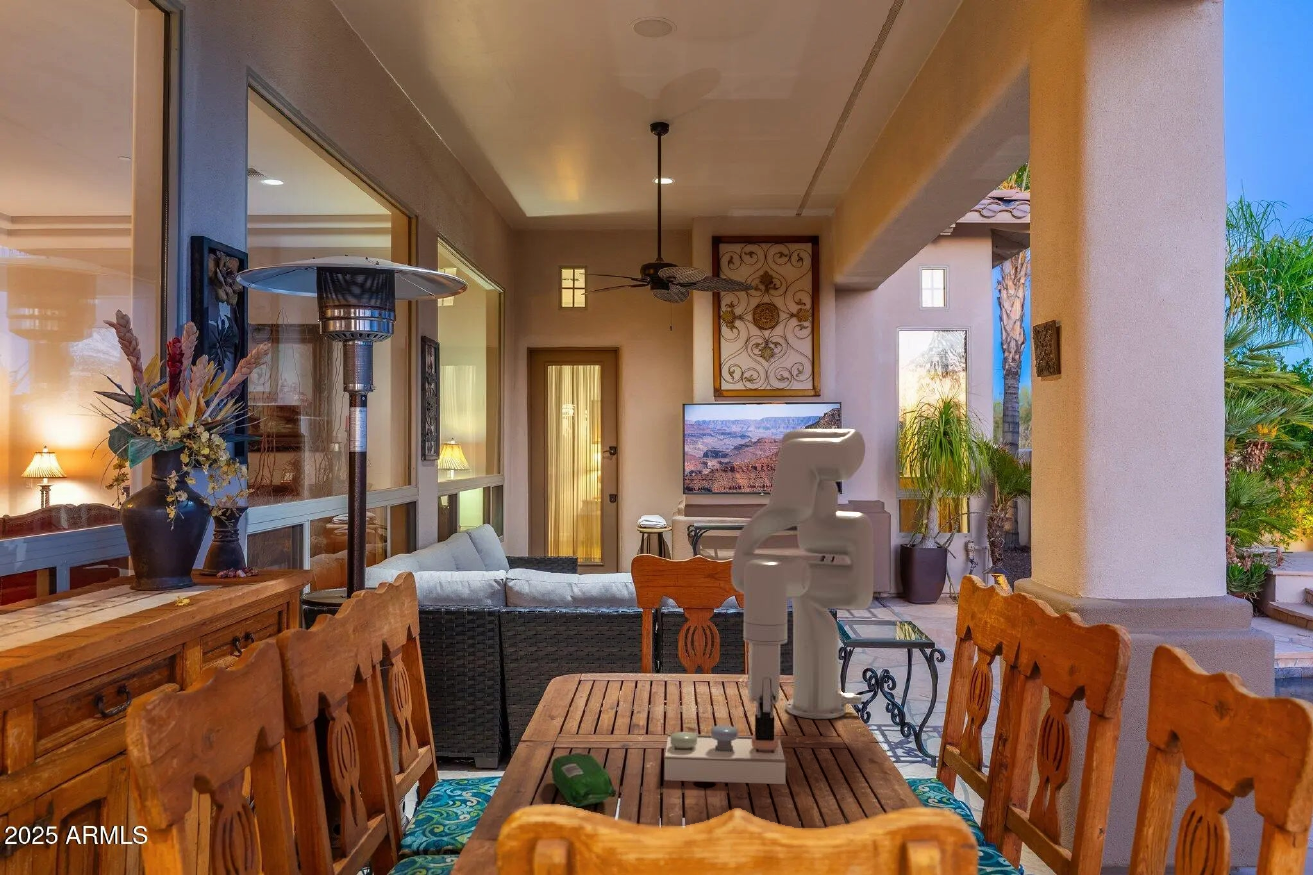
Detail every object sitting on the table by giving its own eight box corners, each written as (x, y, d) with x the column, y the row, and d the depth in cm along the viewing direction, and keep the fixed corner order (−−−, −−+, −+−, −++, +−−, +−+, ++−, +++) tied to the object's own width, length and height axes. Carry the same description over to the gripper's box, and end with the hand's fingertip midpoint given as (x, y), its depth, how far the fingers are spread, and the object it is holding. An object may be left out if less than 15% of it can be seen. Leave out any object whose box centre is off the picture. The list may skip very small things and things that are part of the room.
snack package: (572, 819, 126) (573, 784, 126) (546, 781, 140) (547, 749, 140) (618, 813, 128) (618, 778, 128) (587, 775, 143) (588, 744, 143)
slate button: (737, 746, 148) (737, 725, 149) (738, 755, 144) (738, 734, 144) (710, 745, 149) (710, 725, 149) (710, 754, 144) (711, 733, 144)
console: (779, 758, 152) (779, 736, 152) (785, 783, 140) (785, 760, 140) (668, 754, 153) (668, 733, 153) (664, 780, 141) (664, 757, 141)
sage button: (697, 752, 149) (697, 732, 149) (696, 762, 144) (696, 741, 144) (671, 752, 149) (671, 731, 149) (669, 761, 145) (670, 740, 145)
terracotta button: (777, 755, 148) (777, 734, 148) (779, 764, 143) (779, 743, 143) (750, 754, 148) (750, 733, 148) (752, 763, 144) (752, 742, 144)
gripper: (741, 623, 154) (741, 724, 153) (745, 640, 139) (744, 753, 138) (783, 624, 153) (782, 726, 153) (791, 641, 138) (790, 754, 138)
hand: (764, 738), depth 146 cm, fingers closed
